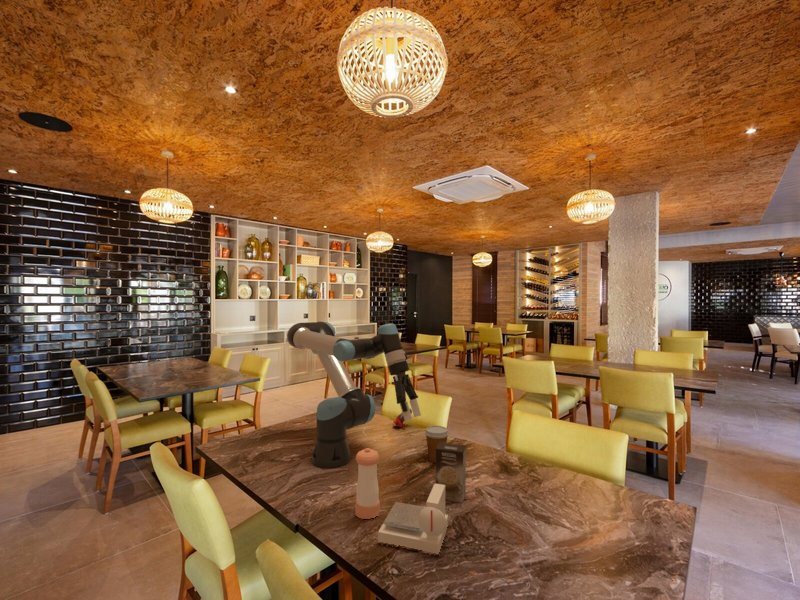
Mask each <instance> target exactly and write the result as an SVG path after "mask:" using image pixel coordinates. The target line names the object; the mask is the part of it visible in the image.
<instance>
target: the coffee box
mask: <svg viewBox="0 0 800 600" xmlns="http://www.w3.org/2000/svg"><path fill="white" fill-rule="evenodd" d="M466 456H467V446H466V444H460V443H459V444H458V443H452V442H447V443H446V442H439V444H438V445H437V448H436V462H435V484H442V485H445V501H450V502H454V503H461V504H464V503H463V502H464V499H465V496H466V478H467V477H466V475H467V473H466V470H467V468H466V466H467V465H466V464H467V463H466V462H467V460H466V459H467V457H466Z"/></svg>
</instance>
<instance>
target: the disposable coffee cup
mask: <svg viewBox="0 0 800 600" xmlns="http://www.w3.org/2000/svg"><path fill="white" fill-rule="evenodd" d="M424 435H425V438H426V446H427V453H428V461H429V462H432V463H436V448H437V445H438V444H439V442H446V443H448V436H449V431H448V429H447V428H446V427H445V426H441V425H430V426H428V427H426V429H425V431H424Z"/></svg>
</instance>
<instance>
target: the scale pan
mask: <svg viewBox="0 0 800 600" xmlns="http://www.w3.org/2000/svg"><path fill="white" fill-rule="evenodd" d="M425 507H426V506H423V505H422V506H421V505H416V504H410V503H405V502H404V503H403V502H398V501H395V502H394V504H393V505H392V507H391V509H390V511H389V512H388V514H387V516H386V518H385V519H384V521H383V523H384V525H389V526H394V527H399V528H404V529H409V530H414V531H420V532H421V530H422V529H421V527H420V525H419V522H418V517H419V514H420V512H421V510H422V509H424V508H425Z"/></svg>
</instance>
